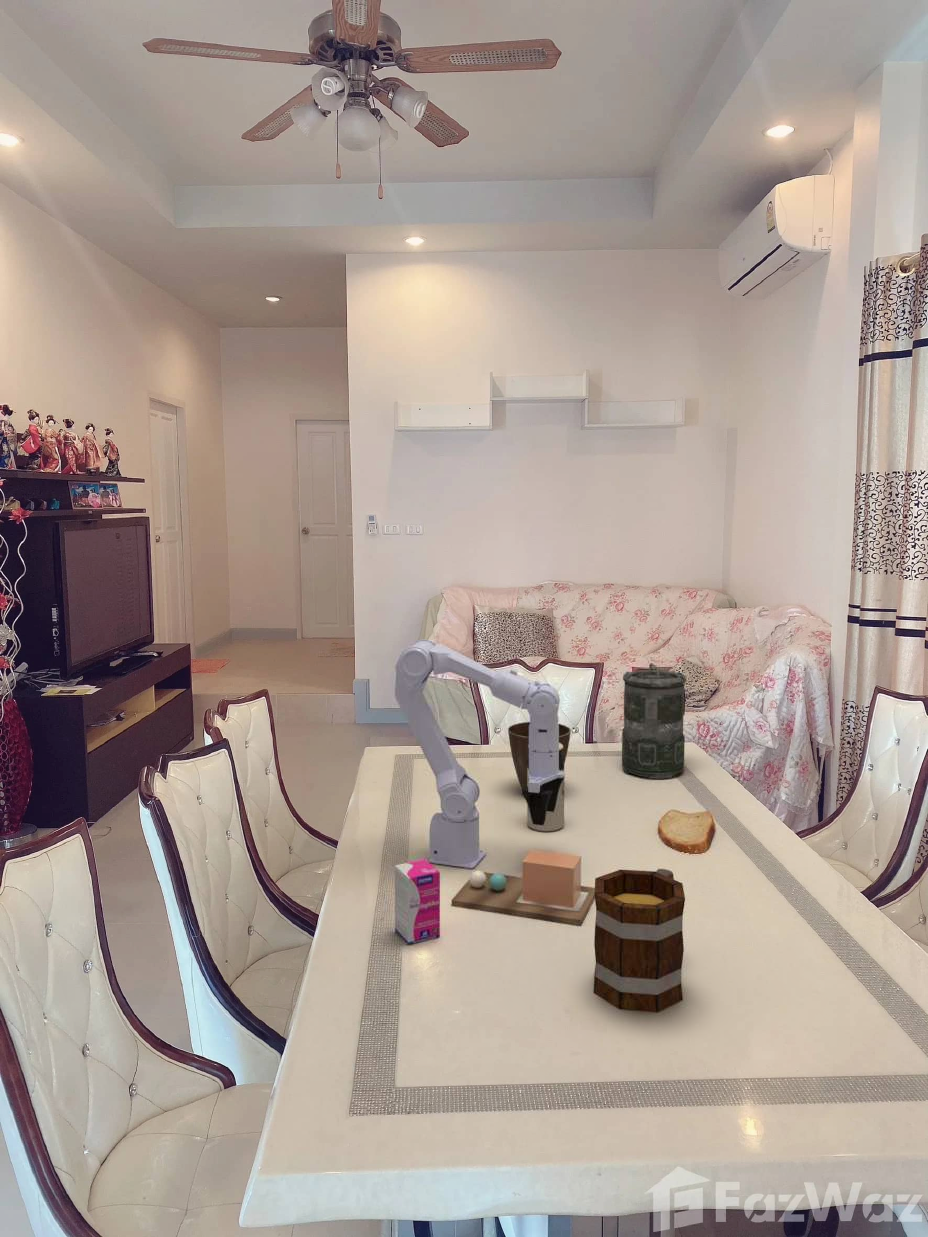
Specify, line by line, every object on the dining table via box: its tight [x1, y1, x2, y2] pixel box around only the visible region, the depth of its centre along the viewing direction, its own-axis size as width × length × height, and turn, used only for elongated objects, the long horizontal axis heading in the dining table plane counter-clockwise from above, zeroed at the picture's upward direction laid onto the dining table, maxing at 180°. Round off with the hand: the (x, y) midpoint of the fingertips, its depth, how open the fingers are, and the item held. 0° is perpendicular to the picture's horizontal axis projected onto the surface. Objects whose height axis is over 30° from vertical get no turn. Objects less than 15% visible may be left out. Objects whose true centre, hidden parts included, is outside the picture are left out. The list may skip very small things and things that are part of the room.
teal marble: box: [490, 872, 506, 891], centre depth 159 cm, size 3×3×3 cm
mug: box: [593, 868, 686, 1014], centre depth 130 cm, size 20×14×15 cm
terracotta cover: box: [522, 849, 582, 908], centre depth 155 cm, size 9×6×7 cm, turn 70°
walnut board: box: [451, 871, 595, 927], centre depth 157 cm, size 23×13×1 cm, turn 70°
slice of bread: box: [657, 809, 716, 855], centre depth 187 cm, size 18×18×4 cm
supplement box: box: [394, 859, 441, 945], centre depth 144 cm, size 6×6×12 cm
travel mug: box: [526, 743, 565, 832], centre depth 192 cm, size 8×8×18 cm
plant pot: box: [507, 721, 571, 790], centre depth 213 cm, size 15×15×16 cm
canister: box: [621, 662, 687, 780], centre depth 229 cm, size 16×16×28 cm
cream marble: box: [469, 870, 486, 888], centre depth 160 cm, size 3×3×3 cm
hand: (543, 817), depth 171 cm, fingers open, 7 cm apart
